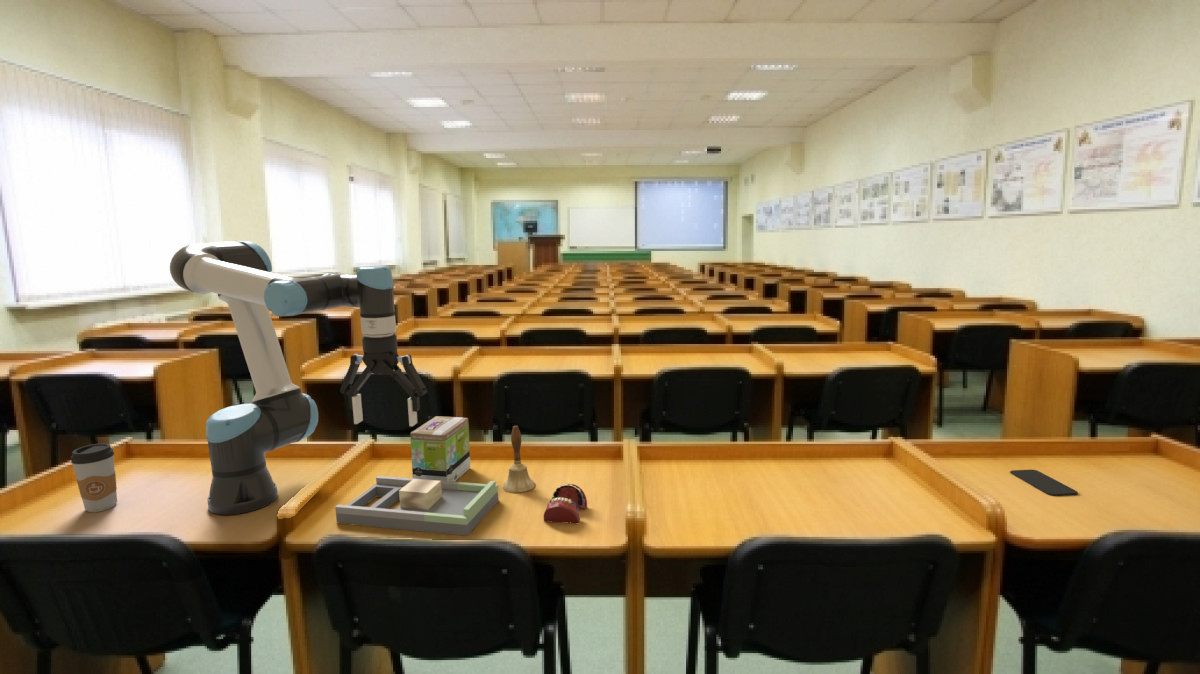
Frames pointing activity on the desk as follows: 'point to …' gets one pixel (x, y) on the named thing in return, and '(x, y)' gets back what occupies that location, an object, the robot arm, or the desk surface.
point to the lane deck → (447, 515)
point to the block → (420, 494)
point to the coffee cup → (95, 476)
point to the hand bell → (517, 468)
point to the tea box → (441, 449)
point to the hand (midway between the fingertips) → (385, 423)
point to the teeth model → (566, 504)
